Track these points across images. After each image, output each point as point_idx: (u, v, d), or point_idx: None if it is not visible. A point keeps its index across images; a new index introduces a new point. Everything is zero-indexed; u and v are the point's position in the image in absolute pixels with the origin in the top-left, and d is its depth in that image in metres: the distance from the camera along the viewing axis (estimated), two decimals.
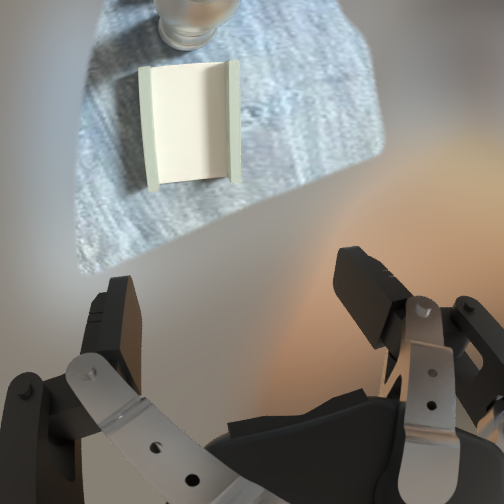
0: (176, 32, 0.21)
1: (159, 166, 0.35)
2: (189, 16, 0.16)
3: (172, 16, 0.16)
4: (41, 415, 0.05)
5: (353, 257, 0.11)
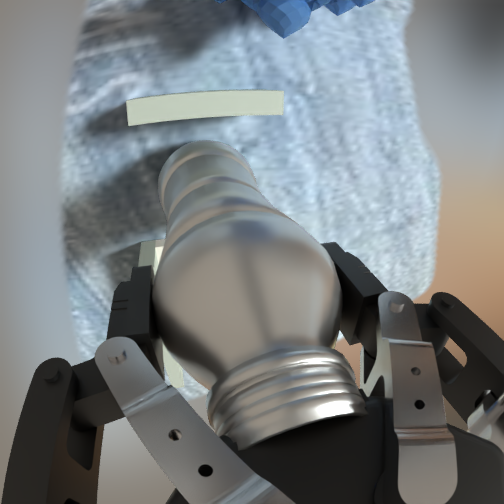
0: None
1: None
2: None
3: None
4: (66, 403, 0.05)
5: (329, 253, 0.11)
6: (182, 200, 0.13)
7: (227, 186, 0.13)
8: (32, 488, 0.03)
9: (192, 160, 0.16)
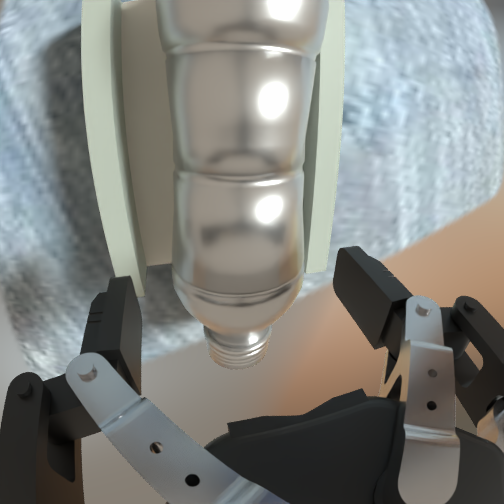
0: None
1: (143, 231, 0.16)
2: None
3: None
4: (41, 415, 0.05)
5: (353, 257, 0.11)
6: (218, 197, 0.10)
7: (275, 206, 0.11)
8: None
9: (251, 58, 0.08)
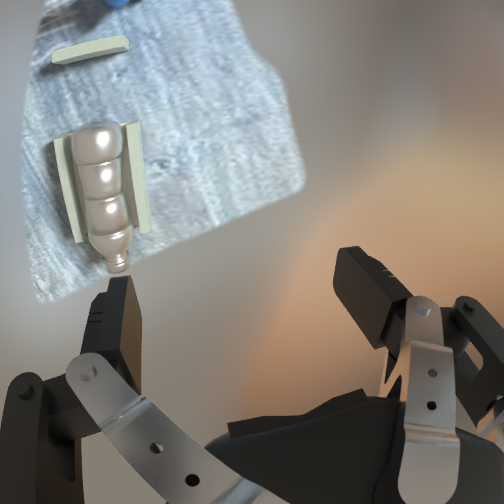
0: None
1: (85, 218, 0.39)
2: None
3: None
4: (41, 415, 0.05)
5: (353, 257, 0.11)
6: (90, 206, 0.33)
7: (105, 208, 0.33)
8: None
9: (90, 169, 0.30)
